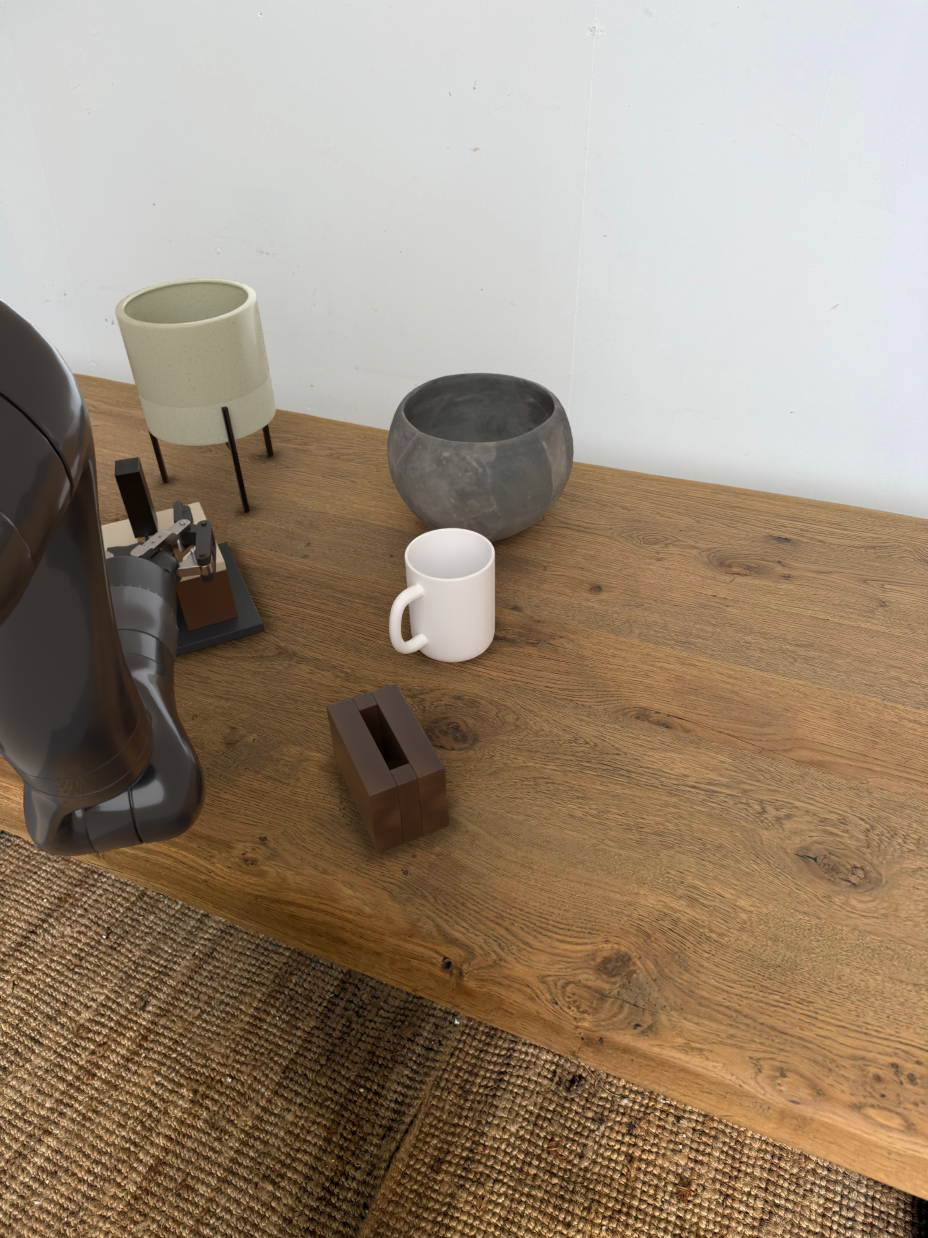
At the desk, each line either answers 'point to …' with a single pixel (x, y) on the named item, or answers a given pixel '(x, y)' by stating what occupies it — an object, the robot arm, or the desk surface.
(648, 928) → the desk surface
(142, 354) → the planter
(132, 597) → the robot arm
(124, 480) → the knife
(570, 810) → the desk surface
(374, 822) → the knife block
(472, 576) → the cup
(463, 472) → the bowl
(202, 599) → the cake
